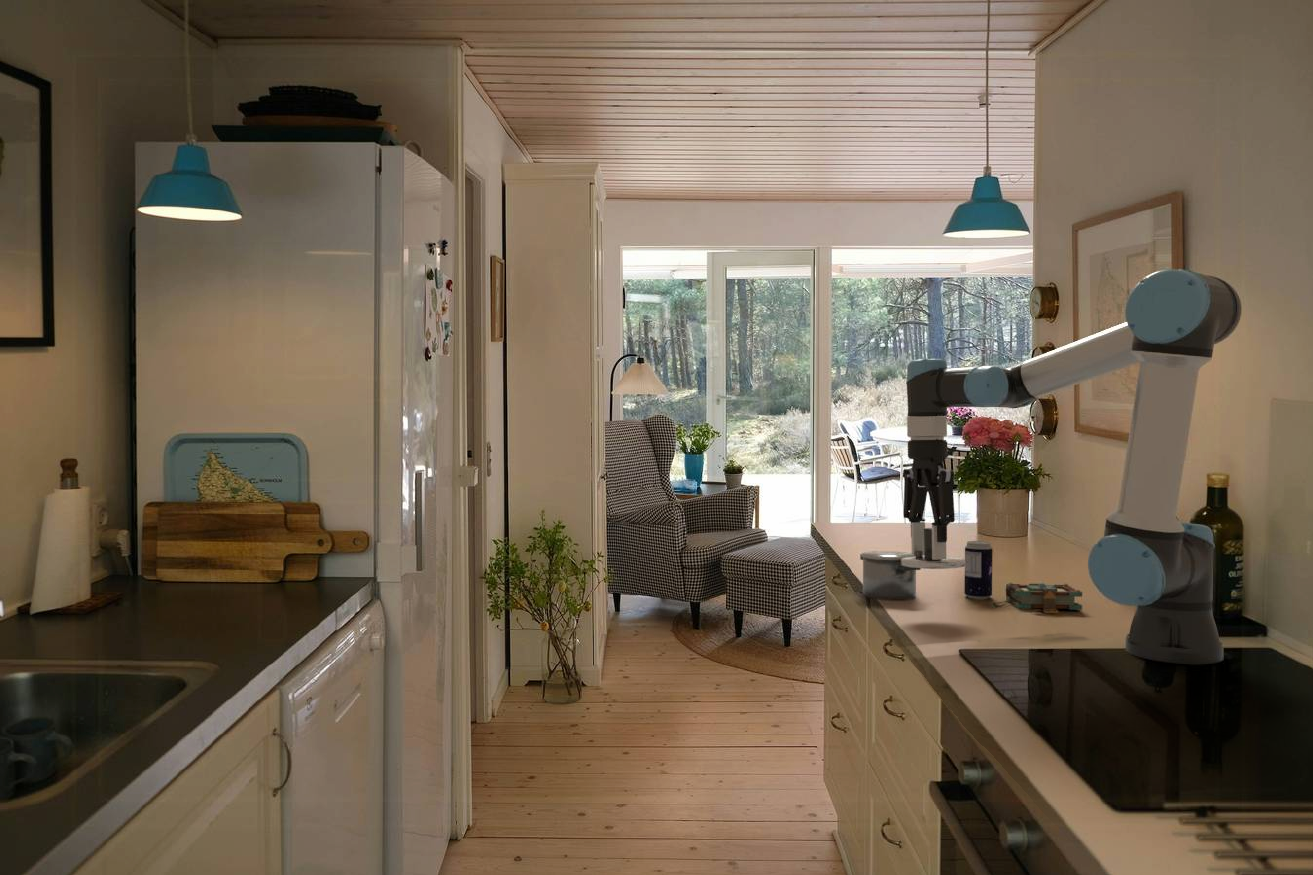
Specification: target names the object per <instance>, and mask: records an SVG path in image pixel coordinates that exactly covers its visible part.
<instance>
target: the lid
mask: <svg viewBox="0 0 1313 875" xmlns="http://www.w3.org/2000/svg"><path fill="white" fill-rule="evenodd" d="M915 555H916V557H908V558H903V559H901V565H902V566H905V567H911V568H921V569H928V570H929V569H930V570H931V569H932V570H934V569H937V570H938V569H939V570H940V569H941V570H946V569H958V568H965V566H966V565H965V558H961V557H951V556H946V559H939V560H933V559H932V527H925V528H924V555H923V551H921V550H917V551H915Z"/></svg>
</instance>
